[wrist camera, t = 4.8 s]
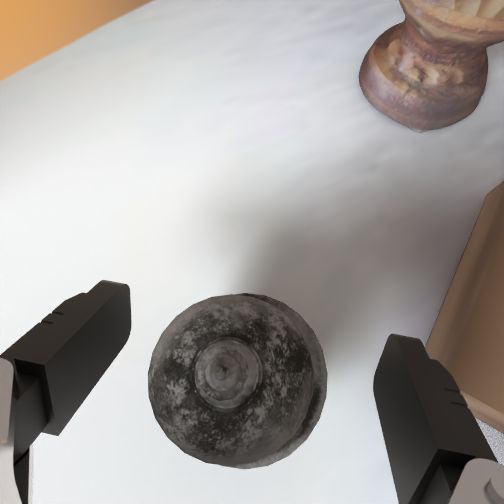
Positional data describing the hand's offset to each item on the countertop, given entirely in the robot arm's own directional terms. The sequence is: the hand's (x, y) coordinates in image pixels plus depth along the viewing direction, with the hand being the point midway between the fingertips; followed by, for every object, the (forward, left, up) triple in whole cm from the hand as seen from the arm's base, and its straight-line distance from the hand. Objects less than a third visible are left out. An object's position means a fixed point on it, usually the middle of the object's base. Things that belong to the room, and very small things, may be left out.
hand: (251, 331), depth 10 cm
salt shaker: (0, -1, -6) cm, 6 cm away
